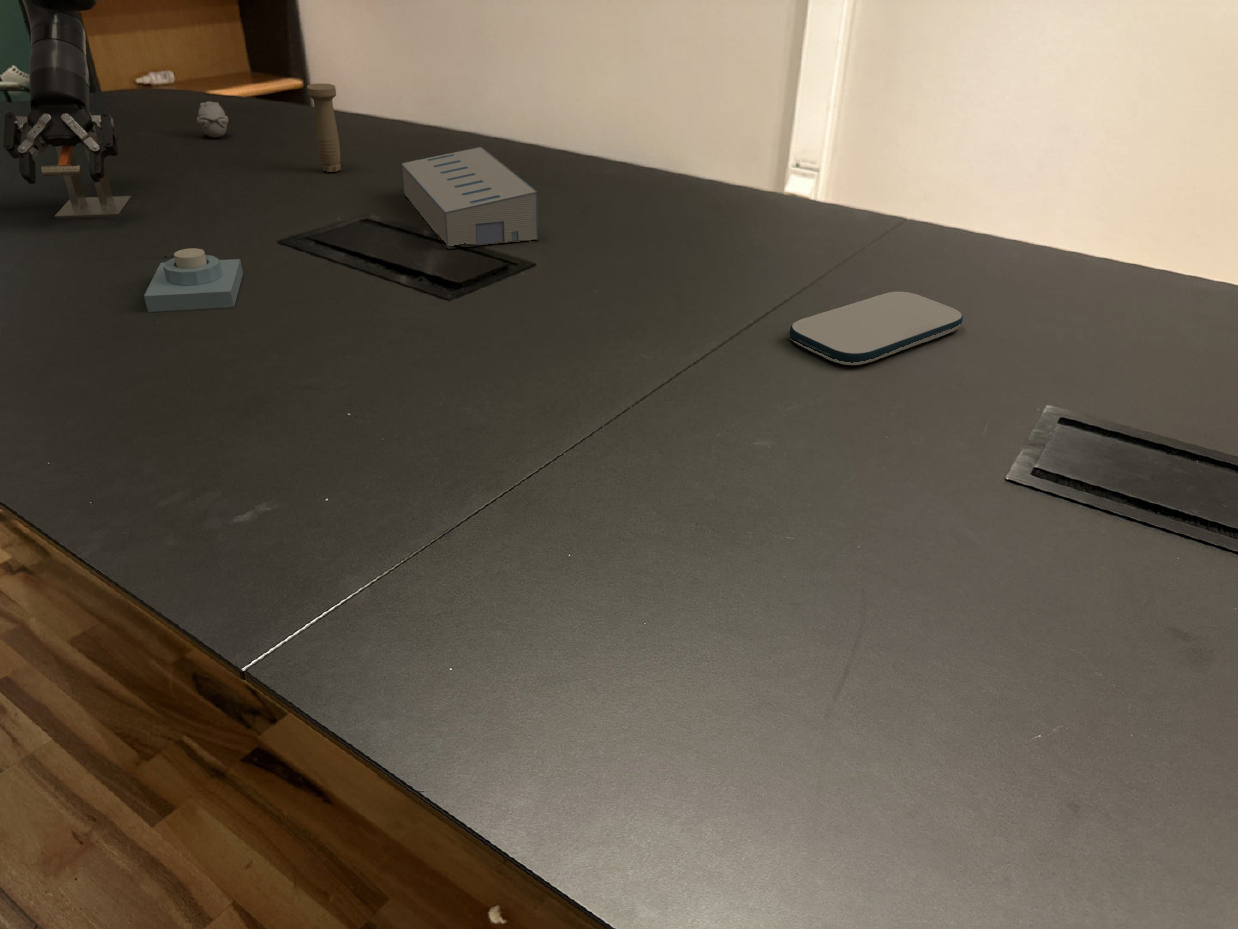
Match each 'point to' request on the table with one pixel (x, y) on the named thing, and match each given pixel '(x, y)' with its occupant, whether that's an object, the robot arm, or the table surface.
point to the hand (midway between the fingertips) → (62, 180)
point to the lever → (63, 165)
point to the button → (190, 258)
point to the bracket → (90, 205)
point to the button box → (194, 286)
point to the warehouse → (471, 198)
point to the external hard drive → (874, 326)
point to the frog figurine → (212, 119)
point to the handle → (326, 125)
